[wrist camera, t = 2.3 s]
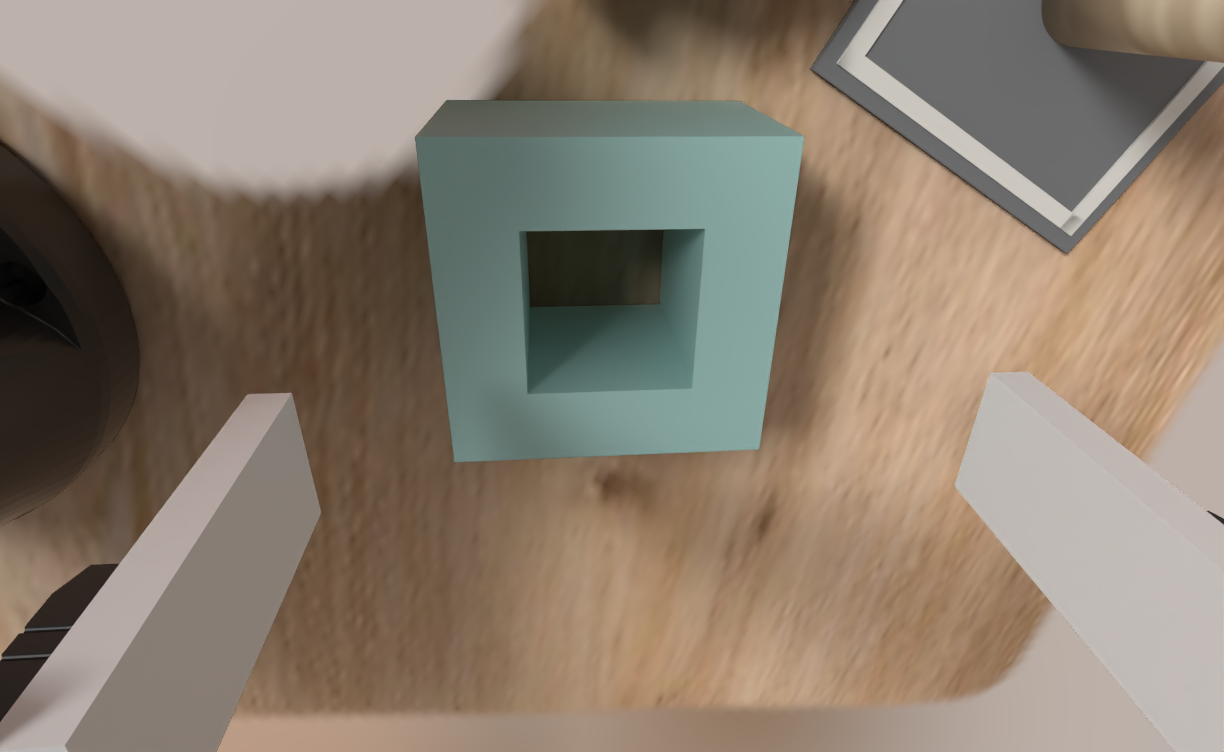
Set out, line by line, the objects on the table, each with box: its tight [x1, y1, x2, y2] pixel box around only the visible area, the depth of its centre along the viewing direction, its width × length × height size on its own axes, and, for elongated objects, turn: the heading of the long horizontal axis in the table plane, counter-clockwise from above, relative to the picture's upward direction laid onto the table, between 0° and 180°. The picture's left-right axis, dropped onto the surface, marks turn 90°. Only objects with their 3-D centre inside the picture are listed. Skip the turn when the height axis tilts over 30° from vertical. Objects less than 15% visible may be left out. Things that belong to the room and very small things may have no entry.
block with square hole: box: [415, 100, 804, 462], centre depth 21 cm, size 9×9×6 cm
